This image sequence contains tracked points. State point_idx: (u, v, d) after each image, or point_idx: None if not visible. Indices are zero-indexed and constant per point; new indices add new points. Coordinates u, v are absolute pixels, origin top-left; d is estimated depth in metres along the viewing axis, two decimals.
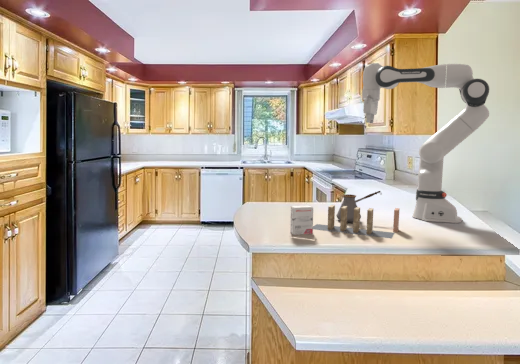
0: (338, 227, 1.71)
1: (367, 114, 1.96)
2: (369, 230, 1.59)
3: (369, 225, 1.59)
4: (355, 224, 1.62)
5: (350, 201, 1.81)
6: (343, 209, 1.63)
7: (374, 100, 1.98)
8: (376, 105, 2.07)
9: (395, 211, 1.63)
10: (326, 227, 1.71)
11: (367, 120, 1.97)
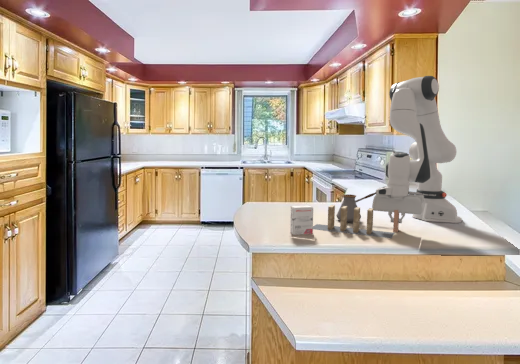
0: (338, 227, 1.71)
1: (404, 214, 1.63)
2: (369, 230, 1.59)
3: (369, 225, 1.59)
4: (355, 224, 1.62)
5: (350, 201, 1.81)
6: (343, 209, 1.63)
7: None
8: None
9: (395, 211, 1.63)
10: (326, 227, 1.71)
11: (401, 220, 1.64)
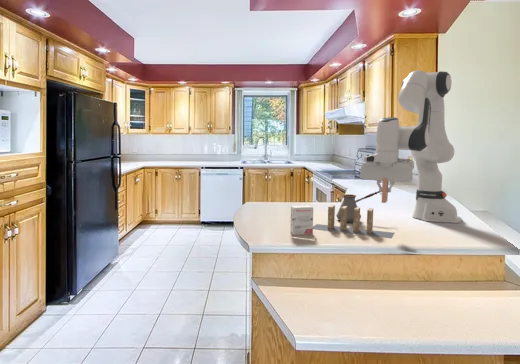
0: (338, 227, 1.71)
1: None
2: (369, 230, 1.59)
3: (369, 225, 1.59)
4: (355, 224, 1.62)
5: (350, 201, 1.81)
6: (343, 209, 1.63)
7: None
8: None
9: (384, 179, 1.55)
10: (326, 227, 1.71)
11: (390, 189, 1.56)
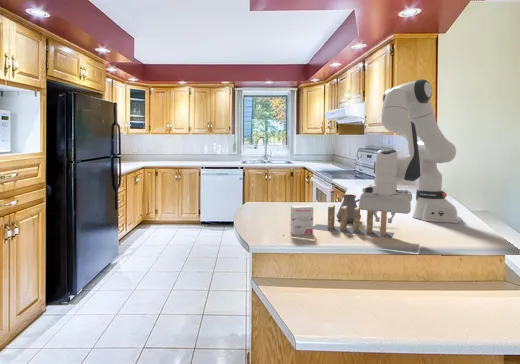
0: (338, 227, 1.71)
1: (394, 213, 1.57)
2: (369, 230, 1.59)
3: (369, 225, 1.59)
4: (355, 224, 1.62)
5: (350, 201, 1.81)
6: (343, 209, 1.63)
7: None
8: None
9: (382, 212, 1.56)
10: (326, 227, 1.71)
11: (391, 220, 1.57)
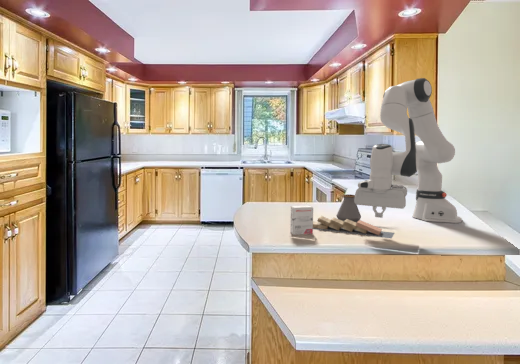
0: None
1: (385, 208, 1.58)
2: (362, 229, 1.61)
3: (357, 227, 1.61)
4: (344, 227, 1.64)
5: (350, 201, 1.81)
6: (319, 219, 1.68)
7: None
8: None
9: (357, 225, 1.61)
10: None
11: (382, 215, 1.59)
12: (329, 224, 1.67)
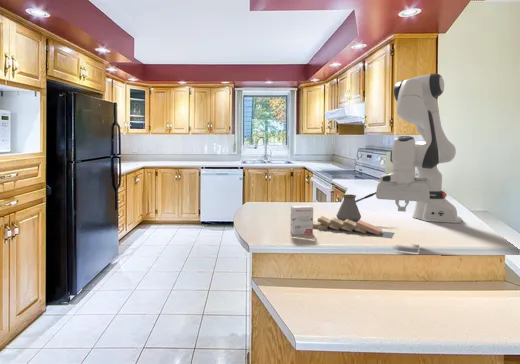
0: None
1: (408, 201, 1.54)
2: (362, 229, 1.61)
3: (357, 227, 1.61)
4: (344, 227, 1.64)
5: (350, 201, 1.81)
6: (319, 219, 1.68)
7: None
8: None
9: (357, 225, 1.61)
10: None
11: (405, 208, 1.55)
12: (329, 224, 1.67)
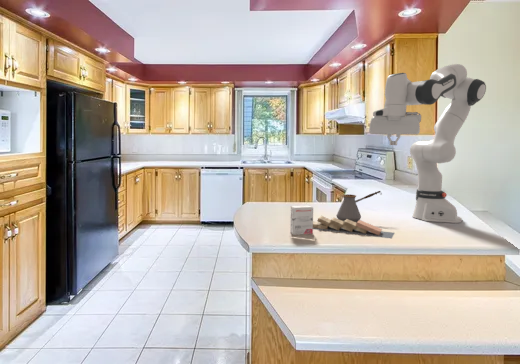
0: None
1: None
2: (362, 229, 1.61)
3: (357, 227, 1.61)
4: (344, 227, 1.64)
5: (350, 201, 1.81)
6: (319, 219, 1.68)
7: None
8: None
9: (357, 225, 1.61)
10: None
11: (396, 142, 1.64)
12: (329, 224, 1.67)
